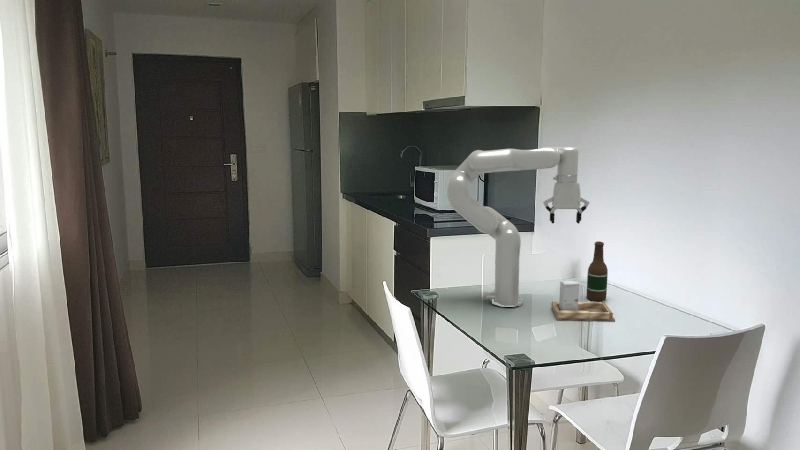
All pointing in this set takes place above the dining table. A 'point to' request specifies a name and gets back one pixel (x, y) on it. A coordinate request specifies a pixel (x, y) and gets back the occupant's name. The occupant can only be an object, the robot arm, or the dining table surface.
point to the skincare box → (569, 295)
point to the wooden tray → (584, 312)
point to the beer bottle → (597, 276)
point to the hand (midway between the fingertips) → (565, 222)
